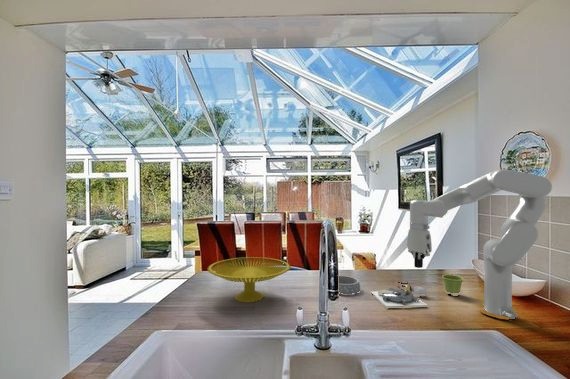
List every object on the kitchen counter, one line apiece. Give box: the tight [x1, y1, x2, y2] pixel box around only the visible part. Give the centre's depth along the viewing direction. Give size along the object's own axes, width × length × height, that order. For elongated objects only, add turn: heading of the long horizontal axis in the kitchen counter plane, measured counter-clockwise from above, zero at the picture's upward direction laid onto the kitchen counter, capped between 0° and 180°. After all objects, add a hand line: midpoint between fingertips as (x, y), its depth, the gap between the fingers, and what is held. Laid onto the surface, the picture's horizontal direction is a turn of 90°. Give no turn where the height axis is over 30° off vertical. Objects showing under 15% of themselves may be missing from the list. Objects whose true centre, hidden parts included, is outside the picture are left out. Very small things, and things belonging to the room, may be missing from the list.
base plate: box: [370, 290, 428, 308], centre depth 143 cm, size 19×19×1 cm
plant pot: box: [441, 274, 464, 293], centre depth 151 cm, size 9×9×9 cm
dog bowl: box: [338, 275, 362, 294], centre depth 159 cm, size 17×18×5 cm
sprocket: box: [377, 284, 419, 304], centre depth 143 cm, size 18×17×6 cm
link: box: [413, 285, 427, 295], centre depth 149 cm, size 4×4×4 cm
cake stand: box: [207, 256, 292, 303], centre depth 147 cm, size 40×40×15 cm
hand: (418, 267), depth 138 cm, fingers closed
